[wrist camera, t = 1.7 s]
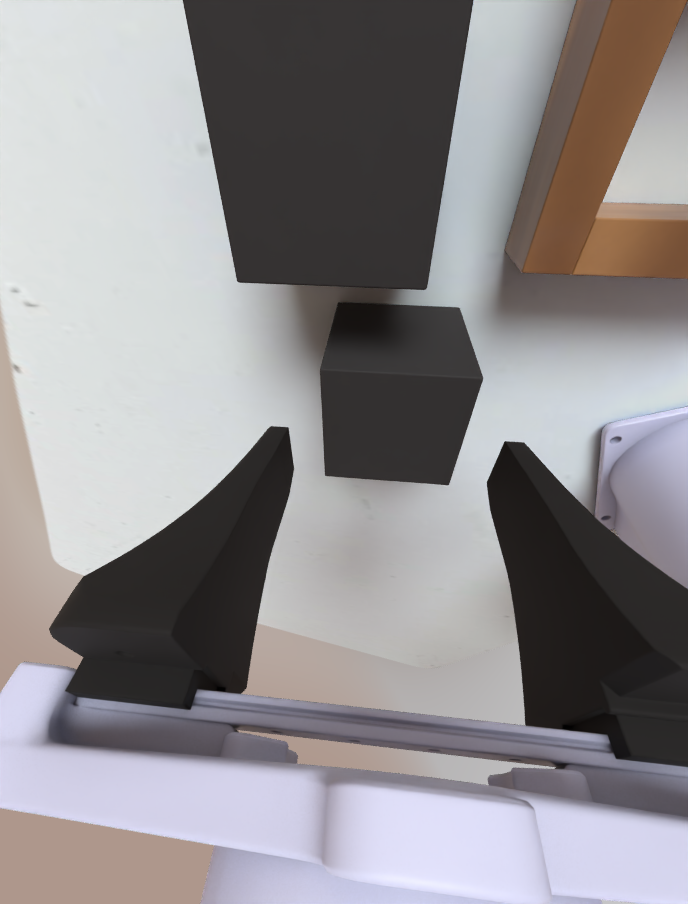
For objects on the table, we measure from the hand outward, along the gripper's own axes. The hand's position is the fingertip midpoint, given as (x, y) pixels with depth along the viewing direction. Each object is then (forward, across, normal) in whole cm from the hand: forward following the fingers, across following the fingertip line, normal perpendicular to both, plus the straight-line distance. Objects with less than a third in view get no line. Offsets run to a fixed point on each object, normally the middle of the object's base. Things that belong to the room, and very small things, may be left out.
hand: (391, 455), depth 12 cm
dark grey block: (+7, 0, 0) cm, 7 cm away
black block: (+7, +2, -8) cm, 10 cm away
